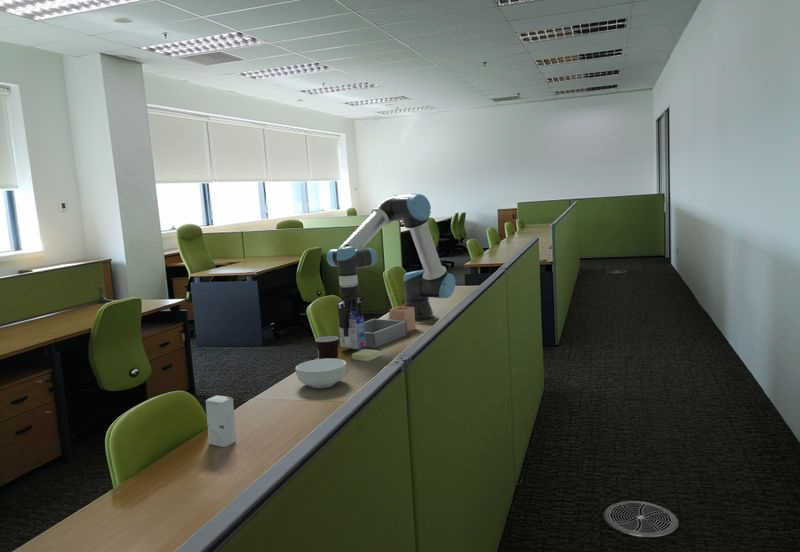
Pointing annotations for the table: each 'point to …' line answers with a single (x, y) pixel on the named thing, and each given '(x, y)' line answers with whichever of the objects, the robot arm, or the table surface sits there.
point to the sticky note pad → (366, 354)
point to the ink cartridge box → (354, 332)
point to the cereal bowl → (321, 372)
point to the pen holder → (404, 316)
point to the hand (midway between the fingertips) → (353, 342)
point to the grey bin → (383, 331)
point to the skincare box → (220, 421)
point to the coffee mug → (327, 347)
